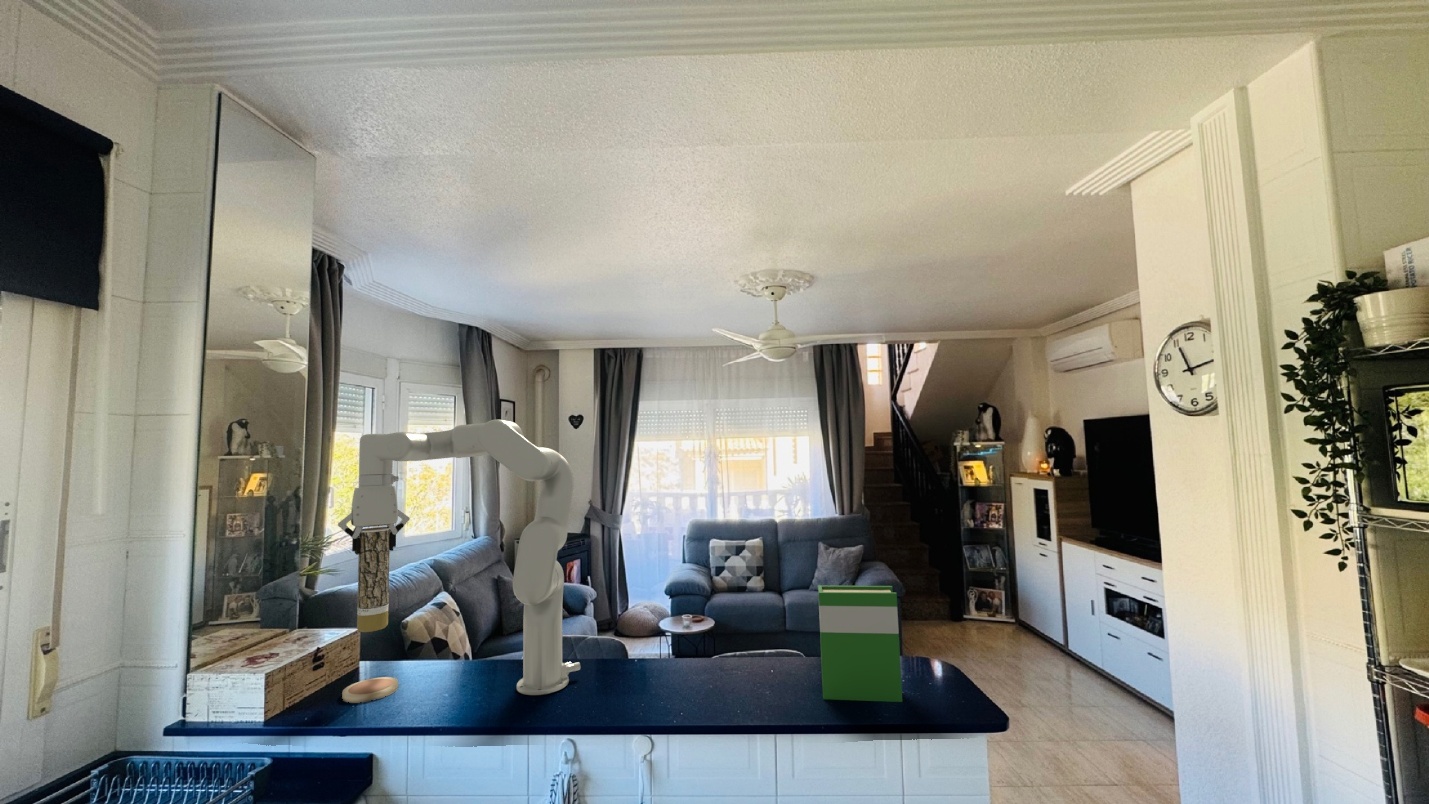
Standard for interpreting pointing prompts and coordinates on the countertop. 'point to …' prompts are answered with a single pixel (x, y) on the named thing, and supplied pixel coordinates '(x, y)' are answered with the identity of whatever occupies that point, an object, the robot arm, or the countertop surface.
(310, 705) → the countertop surface
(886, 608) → the hardback book
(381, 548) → the paper tube
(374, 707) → the countertop surface
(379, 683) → the plate
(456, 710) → the countertop surface
